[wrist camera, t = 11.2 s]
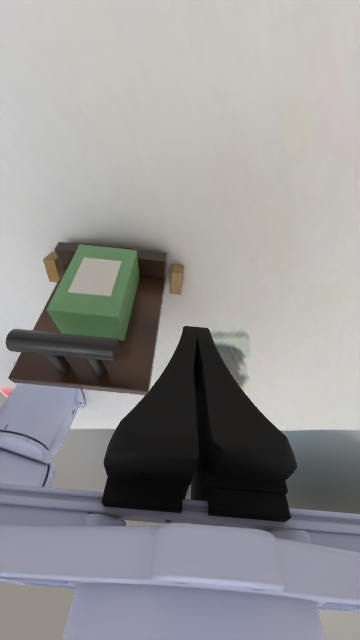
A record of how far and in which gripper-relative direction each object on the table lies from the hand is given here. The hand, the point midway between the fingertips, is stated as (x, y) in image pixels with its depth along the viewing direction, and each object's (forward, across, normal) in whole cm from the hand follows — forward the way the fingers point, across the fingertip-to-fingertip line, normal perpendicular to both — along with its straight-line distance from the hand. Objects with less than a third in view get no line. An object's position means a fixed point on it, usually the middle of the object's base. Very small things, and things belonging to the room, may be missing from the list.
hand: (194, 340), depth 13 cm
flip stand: (+5, +7, +3) cm, 9 cm away
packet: (+6, +7, +2) cm, 9 cm away
